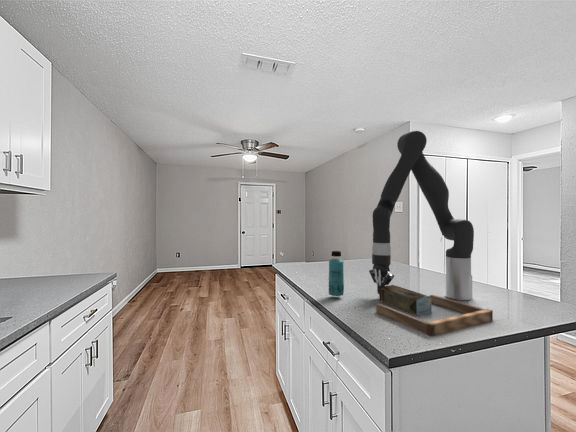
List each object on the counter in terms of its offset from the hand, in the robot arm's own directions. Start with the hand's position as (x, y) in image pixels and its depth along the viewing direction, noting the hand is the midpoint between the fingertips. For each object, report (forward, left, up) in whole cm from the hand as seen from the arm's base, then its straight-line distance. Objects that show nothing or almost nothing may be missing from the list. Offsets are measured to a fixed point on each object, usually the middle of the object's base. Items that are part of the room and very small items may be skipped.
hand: (380, 294), depth 119 cm
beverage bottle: (+17, -9, -2) cm, 19 cm away
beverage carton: (0, +12, -2) cm, 12 cm away
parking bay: (0, +24, -2) cm, 24 cm away
